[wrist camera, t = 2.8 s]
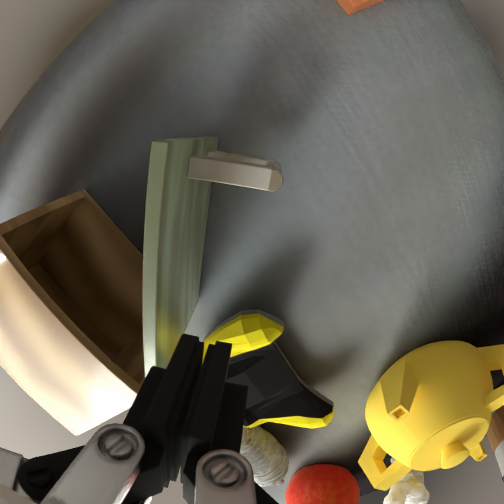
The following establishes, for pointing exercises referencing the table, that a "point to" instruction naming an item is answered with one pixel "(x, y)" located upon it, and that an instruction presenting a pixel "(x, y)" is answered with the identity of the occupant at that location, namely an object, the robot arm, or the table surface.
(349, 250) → the table surface
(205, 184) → the door
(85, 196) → the cupboard
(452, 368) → the teapot
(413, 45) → the table surface
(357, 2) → the button block
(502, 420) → the coffee cup
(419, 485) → the figurine
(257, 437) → the seashell
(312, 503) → the apple
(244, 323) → the black and yellow shoe
